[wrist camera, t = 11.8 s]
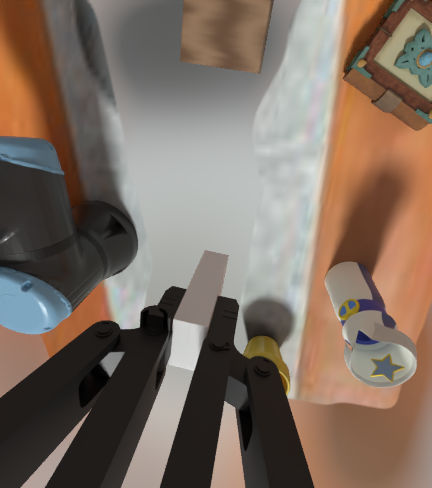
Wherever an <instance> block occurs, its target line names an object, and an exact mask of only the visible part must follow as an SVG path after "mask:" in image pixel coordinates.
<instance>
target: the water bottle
mask: <svg viewBox="0 0 432 488" xmlns="http://www.w3.org/2000/svg"><path fill="white" fill-rule="evenodd" d="M325 286H326V288H327V291H328V293H329V295H330V298H331V301H332V304H333V307H334V310H335V313H336V315H337V317H338V319H339V321H340V322H341V323H342V326H343V329H342V334H343V337H344V339H345V341H346V342H347V343H348V344H349V345H351V346H352V351H351V350H350V349H349V347H348V346H347V345H346V342H345V349H344V358H345V362H346V365H347V367H348V368H349V370H350V371H351V373H352V374H353V375H354V376H355V377H356V378H357V379H359V380H360V381H362V382H363V383H365V384H367V385H370V386H373V387H392V386H396V385H399V384H401V383H403V382H405V381H407V380H408V379H409V378H410V377H411V376H412V375H413V374H414V372H415V370H416V367H417V361H416V360H417V354H416V348H415V345H414V343H413V342H412V340H411V339H410V338H409V337H408V336H407V335H405V334H404V333H402V332H400V331H398V330H397V325H396V323H395V321H394V319H393V318H392V317H391V316H389V315H388V314H387V313H386V307H385V304H384V301H383V299H382V297H381V295H380V293H379V292H378V290H377V288H376V286H375V284H374V282H373V280H372V277H371V275H370V273H369V271H368V269H367V268H366V267H365V266H363V265H362V264H360V263H357V262H350V261H348V262H342V263H339V264H337V265H335V266H333V267H332V268H331V269H330V270H329V271H328V272H327V274H326V277H325Z"/></svg>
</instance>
